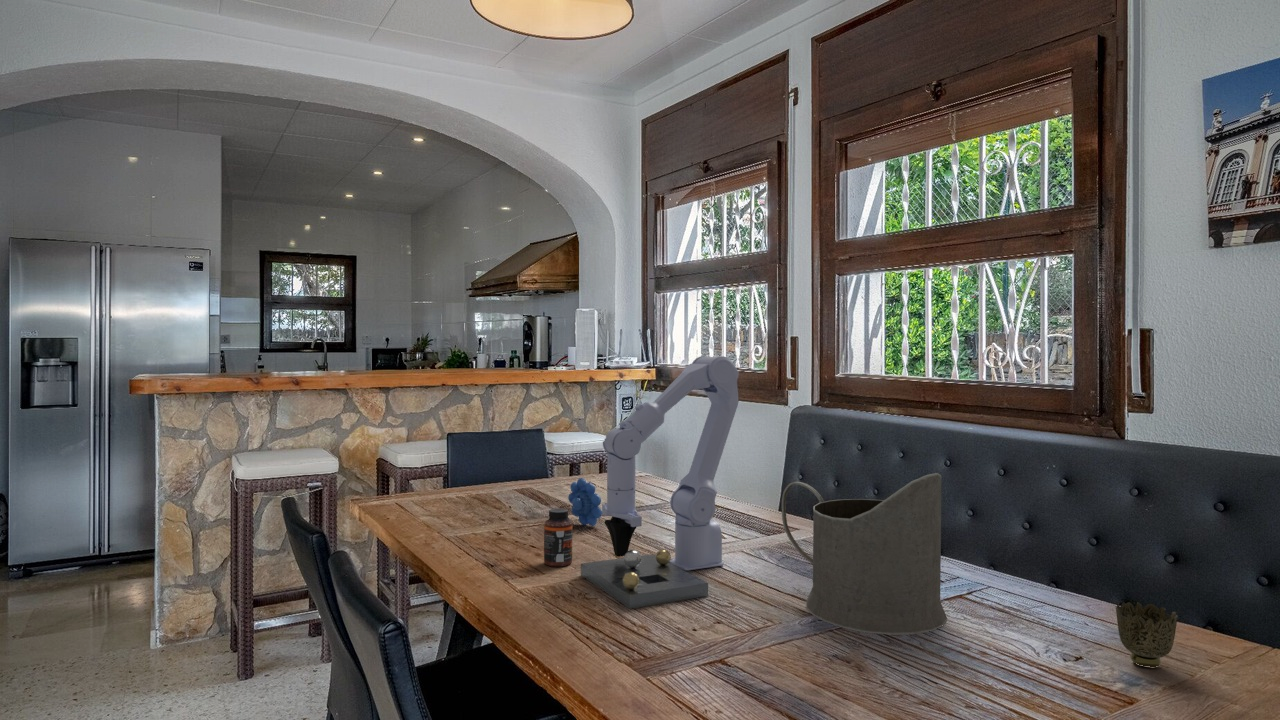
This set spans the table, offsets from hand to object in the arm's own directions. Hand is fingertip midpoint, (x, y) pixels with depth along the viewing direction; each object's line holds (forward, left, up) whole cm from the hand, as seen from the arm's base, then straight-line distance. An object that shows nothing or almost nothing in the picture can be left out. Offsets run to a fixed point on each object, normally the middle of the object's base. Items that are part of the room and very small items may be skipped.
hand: (620, 555), depth 154 cm
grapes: (-9, -42, -4) cm, 43 cm away
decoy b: (+6, +17, 0) cm, 18 cm away
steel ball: (0, +5, +1) cm, 5 cm away
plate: (0, +9, -3) cm, 10 cm away
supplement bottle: (+9, -12, -4) cm, 15 cm away
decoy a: (-6, +6, 0) cm, 9 cm away
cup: (-48, +74, -4) cm, 89 cm away
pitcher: (-29, +35, -4) cm, 46 cm away
